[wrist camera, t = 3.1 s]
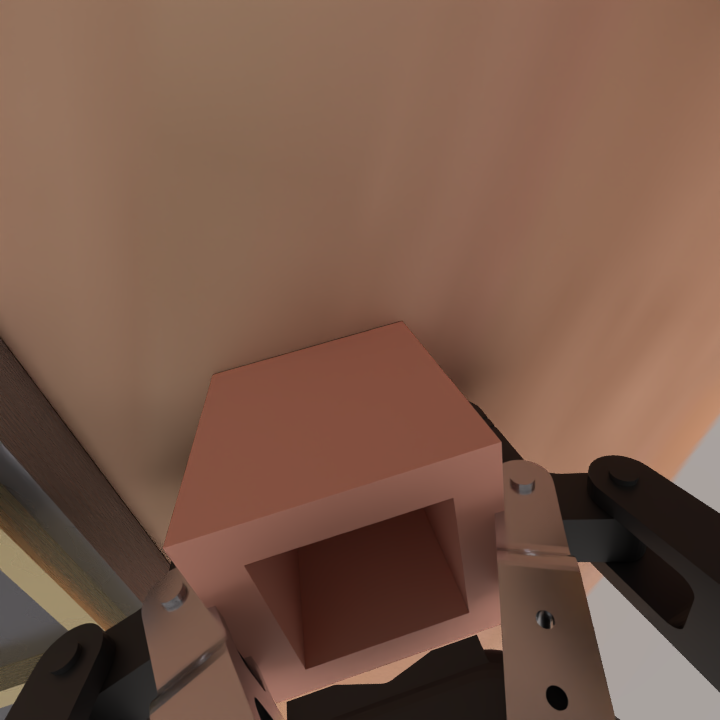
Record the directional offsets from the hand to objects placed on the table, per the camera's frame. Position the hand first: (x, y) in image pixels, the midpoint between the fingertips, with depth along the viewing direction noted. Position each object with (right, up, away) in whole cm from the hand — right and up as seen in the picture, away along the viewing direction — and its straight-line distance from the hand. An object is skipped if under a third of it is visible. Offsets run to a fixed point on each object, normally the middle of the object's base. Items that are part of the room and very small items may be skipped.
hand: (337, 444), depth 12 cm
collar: (0, +1, +1) cm, 1 cm away
